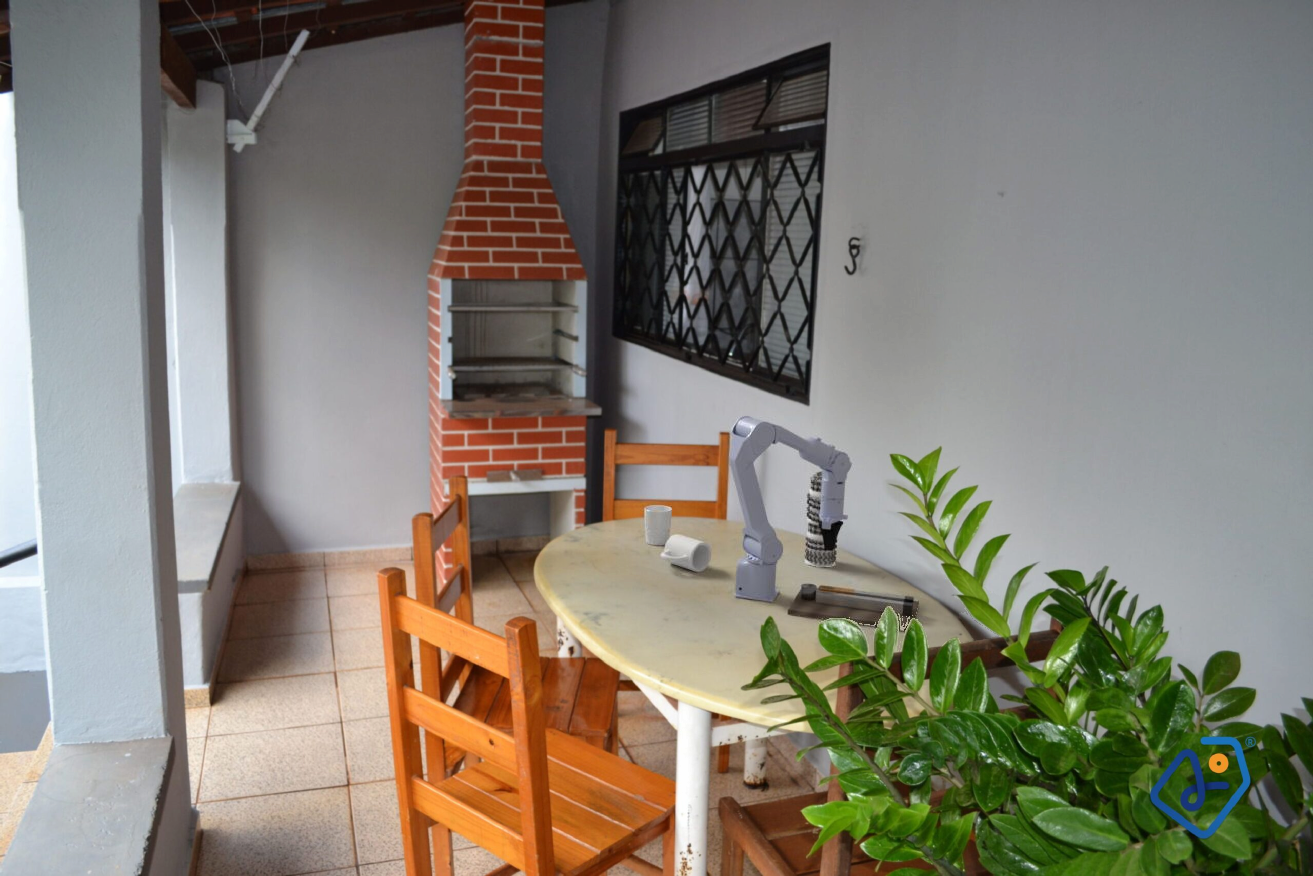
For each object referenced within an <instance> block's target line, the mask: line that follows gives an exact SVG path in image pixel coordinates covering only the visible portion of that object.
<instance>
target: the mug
mask: <svg viewBox="0 0 1313 876" xmlns="http://www.w3.org/2000/svg"><path fill="white" fill-rule="evenodd" d="M660 558H661V559H662V560H663V561H666V562H668V563H670V564H672V565H675V566H678V567H682V568H684V569H687V570H690V571H693V572H696V573H701V572H703V571H705V569H706V568H707V567H708V565H709V564H710V562H711V559H712V549H711V546H710V545H709V544H708V542H705V541H701V540H699V539H696V538H693V537H689V536H686V535H683V534H679V533H676V534H672V535H671V536H669V539H668V540H667V542H666V544H665V545H664V549H663V551H662V552H661V553H660Z"/></svg>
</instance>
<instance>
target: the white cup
mask: <svg viewBox="0 0 1313 876" xmlns="http://www.w3.org/2000/svg"><path fill="white" fill-rule="evenodd" d="M672 512H673V508H672V507H670V506H668V505H663V504H662V505H661V504H656V505H655V504H653V505H652V504H651V505H647V506H645V507H644V533H645V543H646V544H648V545H651V546H652V545H653V546H665V544H666V542H667V540H668V539H669V538H670V533H671V525H672V514H673V513H672Z"/></svg>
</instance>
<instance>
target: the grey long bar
mask: <svg viewBox="0 0 1313 876" xmlns="http://www.w3.org/2000/svg"><path fill="white" fill-rule="evenodd" d="M816 603H823V604H830V605H837V606H844V607H851V608H858V609H865V610H872V611H879V612H884V610H885V608H886V607H887V606H891V607H892V608H893V610H894V611H895V613H896V614H898V613H899V614H900V615H906V616H912V608H913V603H909V602H901V601H894V600H886V599H879V598H872V597H864V596H857V595H850V594H843V593H835V592H828V591H821V590H818V591H817V592H816Z"/></svg>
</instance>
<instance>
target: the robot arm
mask: <svg viewBox="0 0 1313 876" xmlns="http://www.w3.org/2000/svg"><path fill="white" fill-rule="evenodd" d="M729 431H730V435H731V441H730V447H729V448H730V449H729V455H728V462H729V466H730V470H731V473H732V478H733V480H734V481H733V482H734V484H735V485H734V486H735V489H736V492H737V496H738V499H739V503H740V508H741V511H742V512H741V513H742V515H743V520H744V523H745V525H744V526H743V528H742V529H741V531H742V540H741V541H742V542H741V545H742V549H743V550H744V551H745V553H746V555H745V556H746V557H739V559H738V560H737V565H736V571H735V590H734V597H736V598H742V599H747V600H748V599H749V600H756V601H763V602H769V603H770V602H771V603H773V602H774V601H775V599H776V598H777V596H778V595H779V594H780V590H779V589H776V580H777V579H776V578H777V564H778V561H779V560H780V559H781V558H782V555H783V553H784V545H783V543H782V542H781V540H780V539H779V538H778V536H777V533H776V530H775V529H774V528H773V526H772V525H771V524H770V522H769V520H768V516H767V511H766V508H765V503H764V500H763V496H762V492H761V487H760V484H759V481H758V476H757V472H756V469H755V465H754V464H755V461H756V460H757V459H758V458H759V457H760V456H761V455H762V454H763V453H764V452H765V451H766V450H767V449H768V448H769V447H771V445H777V444H778V443H780V444H782V445H785V446H787V447H789V448H790V449H791V448H792V449H794V450H796V451H798V454H799V458H801V459H802V460H805V461H807V462H808V463H811V464H813V465H815V466H816V467H819V468H820V470H822V488H821V504H820V513H819V517H820V519H821V521H820V522H819V524H818V525H819V528H820V530H821V533H822V536H823V542H824V548H825V550H828V551H833V550H834V548H835V544H836V545H837V543H836V540H837V541H838V535H839V533H840V530H841V528H842V527H843V525H844V520H845V521H846V520H848V518H849V515H847V514H844V506H845V491H846V490H845V489H846V481H847V479H848V473H849V471H850V470H851V468H852V465H853V463H852V462H851V459H850V456H849V455H848V453H846V452H845V451H844V452H843V451H842V450H837V449H836V447H835V445H833V444H829V445H828V444H826V443H825V442H822V438H820V437H818V436H814V437H813V436H808V437H806V438H803V437H802V436H799V435H797V433H795V432H792V431H790V430H789V429H787V428H785V427H783V426H781V425H779V424H775V423H772V422H769V421H765V420H761V419H758V418H754V417H751V416H749V415H744V416H743V415H742V416H740V417H739V418H737V420H736V421H735V423H734V424H733V426H732V427H731V429H730V430H729Z"/></svg>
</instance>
